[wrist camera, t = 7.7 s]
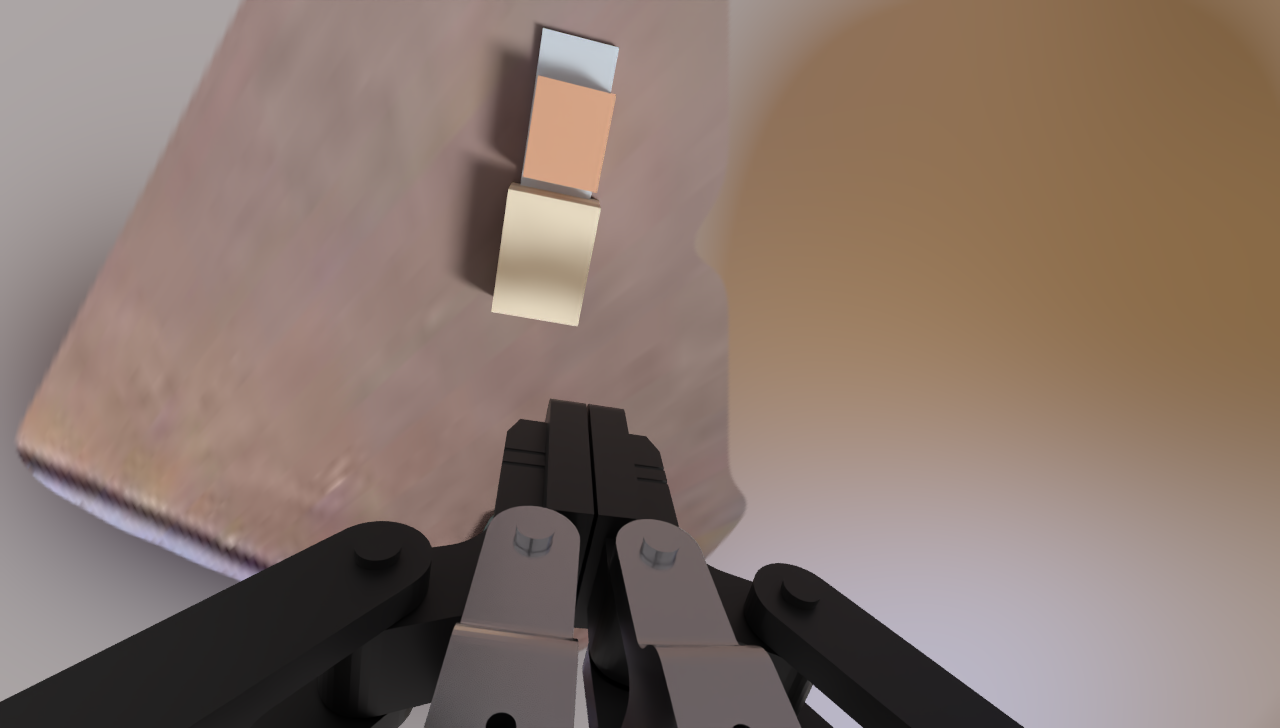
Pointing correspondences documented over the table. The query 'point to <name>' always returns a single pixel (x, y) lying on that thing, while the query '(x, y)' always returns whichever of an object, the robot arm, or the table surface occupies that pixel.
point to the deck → (545, 254)
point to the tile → (568, 134)
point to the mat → (572, 80)
